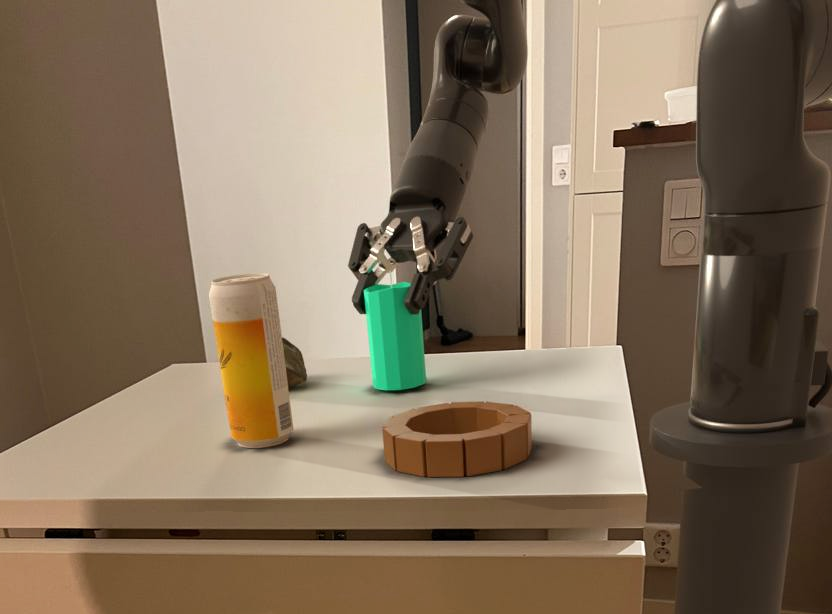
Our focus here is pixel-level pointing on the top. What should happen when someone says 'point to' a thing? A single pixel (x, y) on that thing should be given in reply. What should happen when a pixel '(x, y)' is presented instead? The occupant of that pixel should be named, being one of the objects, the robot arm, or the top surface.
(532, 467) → the top surface
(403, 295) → the candle
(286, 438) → the beer can
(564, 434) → the top surface
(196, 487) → the top surface
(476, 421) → the brown segmented block ring
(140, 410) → the top surface
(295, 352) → the fossilized seashell
